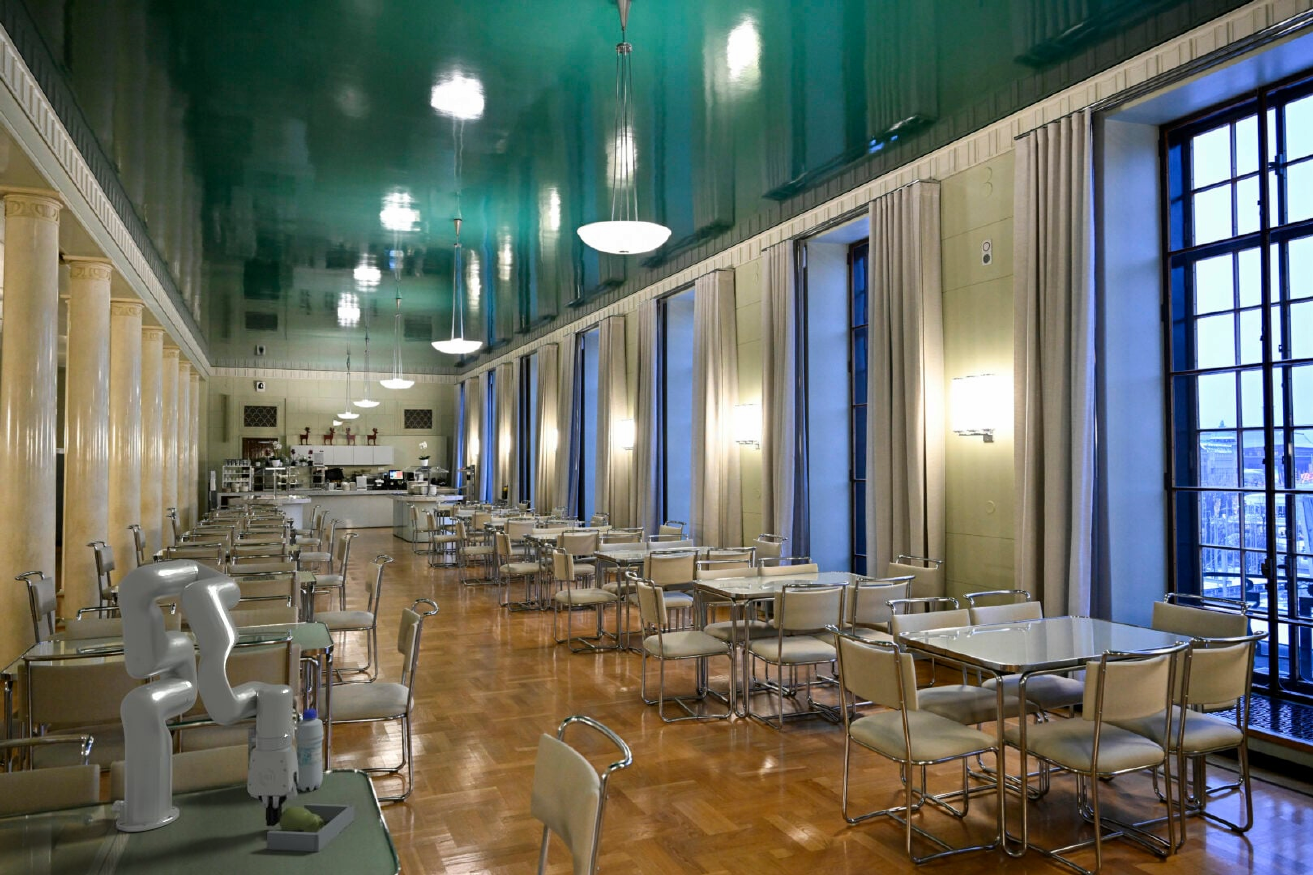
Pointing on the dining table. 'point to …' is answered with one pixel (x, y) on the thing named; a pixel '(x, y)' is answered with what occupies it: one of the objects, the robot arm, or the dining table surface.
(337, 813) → the box
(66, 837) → the dining table surface
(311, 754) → the bottle
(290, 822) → the pear
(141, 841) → the dining table surface
